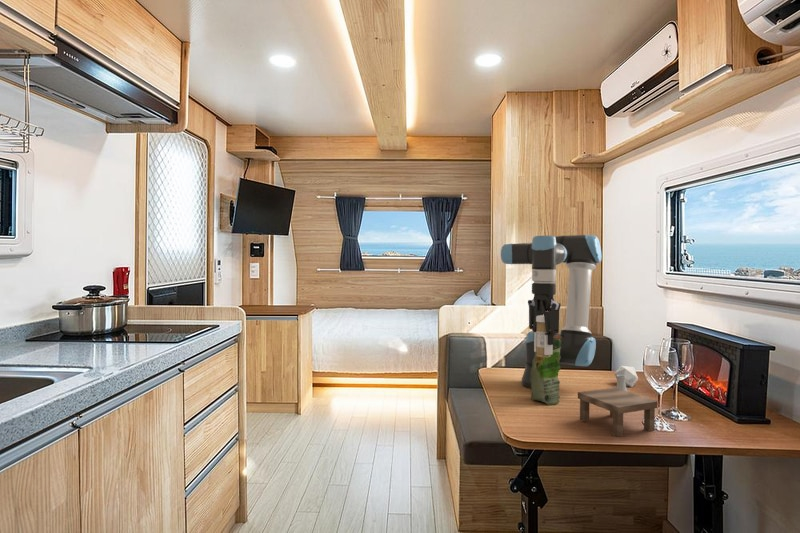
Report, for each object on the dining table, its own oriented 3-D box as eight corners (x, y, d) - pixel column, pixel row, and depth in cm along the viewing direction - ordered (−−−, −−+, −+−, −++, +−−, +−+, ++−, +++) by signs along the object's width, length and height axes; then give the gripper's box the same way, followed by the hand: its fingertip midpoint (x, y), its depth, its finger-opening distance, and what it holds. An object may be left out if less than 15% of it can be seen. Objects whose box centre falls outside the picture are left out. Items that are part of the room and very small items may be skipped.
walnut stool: (577, 419, 142) (577, 392, 142) (614, 413, 148) (614, 387, 148) (618, 437, 127) (618, 407, 127) (657, 430, 133) (657, 401, 133)
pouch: (561, 398, 165) (561, 332, 165) (562, 408, 153) (563, 337, 153) (530, 395, 168) (531, 331, 168) (530, 404, 157) (530, 335, 157)
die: (626, 390, 178) (641, 372, 177) (607, 376, 184) (622, 358, 183) (630, 393, 184) (644, 375, 183) (612, 379, 190) (626, 362, 189)
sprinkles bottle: (551, 356, 144) (552, 315, 144) (548, 358, 140) (548, 317, 140) (538, 354, 146) (538, 314, 146) (534, 356, 142) (534, 316, 142)
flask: (635, 406, 155) (635, 379, 155) (613, 405, 157) (613, 377, 157) (628, 400, 162) (628, 374, 162) (607, 399, 164) (607, 373, 164)
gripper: (518, 281, 150) (517, 348, 150) (552, 283, 133) (552, 359, 134) (535, 281, 152) (535, 347, 152) (572, 283, 136) (571, 357, 136)
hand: (543, 352), depth 143 cm, fingers closed on sprinkles bottle, 4 cm apart
